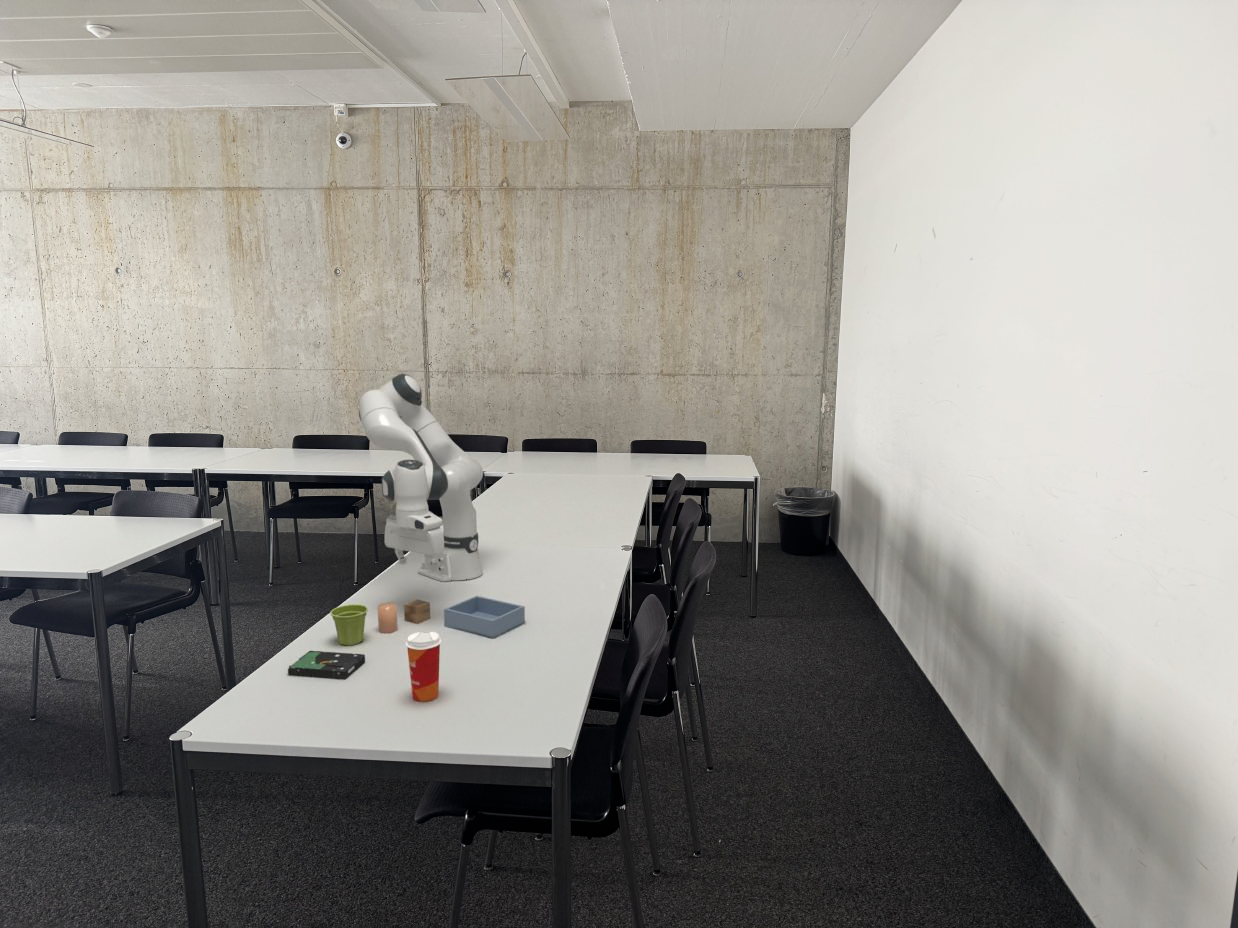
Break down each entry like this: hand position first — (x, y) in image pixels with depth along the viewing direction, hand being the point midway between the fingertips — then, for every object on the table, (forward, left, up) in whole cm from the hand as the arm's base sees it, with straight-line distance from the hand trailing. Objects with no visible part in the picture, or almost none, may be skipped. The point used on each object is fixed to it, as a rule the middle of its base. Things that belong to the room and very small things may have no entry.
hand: (414, 566), depth 220 cm
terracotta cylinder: (-1, -10, -16) cm, 19 cm away
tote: (+19, +7, -16) cm, 26 cm away
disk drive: (+6, -36, -17) cm, 40 cm away
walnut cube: (0, 0, -16) cm, 16 cm away
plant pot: (-3, -21, -16) cm, 26 cm away
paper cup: (+37, -34, -16) cm, 53 cm away
